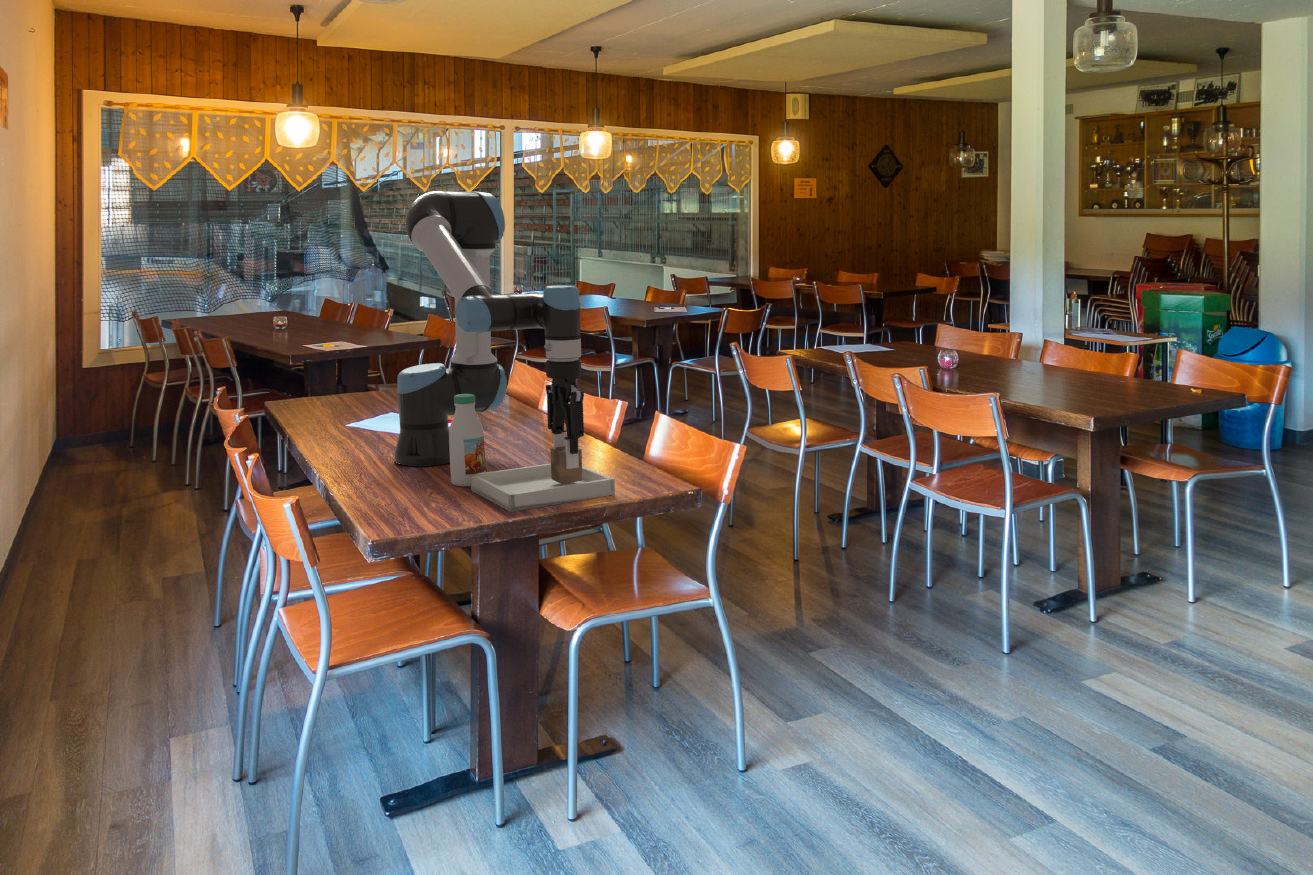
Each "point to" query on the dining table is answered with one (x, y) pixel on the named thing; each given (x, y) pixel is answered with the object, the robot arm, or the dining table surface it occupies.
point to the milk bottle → (466, 442)
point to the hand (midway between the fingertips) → (566, 465)
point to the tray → (538, 487)
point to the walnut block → (564, 466)
